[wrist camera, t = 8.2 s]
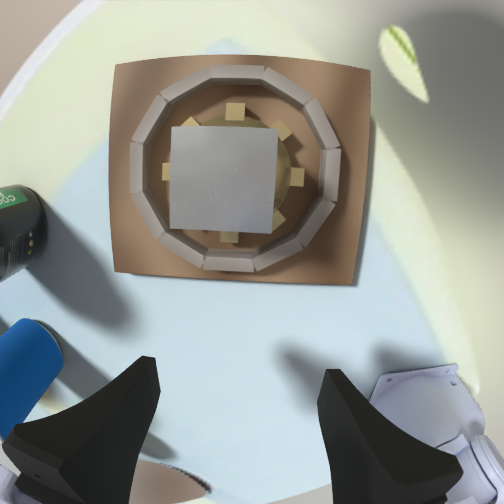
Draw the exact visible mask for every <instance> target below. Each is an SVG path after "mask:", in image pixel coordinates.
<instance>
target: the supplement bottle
mask: <svg viewBox="0 0 504 504" xmlns="http://www.w3.org/2000/svg"><path fill="white" fill-rule="evenodd" d="M46 236H47V225H46V218H45V214H44V210H43V208H42V205H41V203H40V201H39V200H38V198H37V197H36V195H35V194H34V193H33V192H32V191H31V190H30V189H28V188H27V187H25V186H22V185H11V186H5V187H1V188H0V283H1V282H3V281H4V280H6V279H7V278H9V277H11V276H12V275H14V274H15V273H17V272H19V271H20V270H22V269H24V268H25V267H27V266H28V265H30V264H32V263H33V262H34V261H36V260H37V259H38V258H39V256H40V255H41V253H42V252H43V249H44V246H45V243H46Z"/></svg>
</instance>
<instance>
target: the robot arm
mask: <svg viewBox="0 0 504 504" xmlns="http://www.w3.org/2000/svg"><path fill="white" fill-rule="evenodd" d="M457 370H458V366H457V364H452V365H446V366H441V367H435V368H428V369H422V370H414V371H407V372H399V373H390V374H383V375H381V376H380V377H379V379H378V381H377V384H376V386H375V389H374V391H373V394H372V396H371V399H370V401H368V400H367V399H366V398H365V397H364V396H363V395H362V394H361V393H360V392H359V391H358V389H357V388H356V387H355V386H354V385H353V384H352V382H351V381H350V380H349V379H348V378H347V377H346V375H345V374H344V373H343V372H342V371H341V370H340V369H326V372H325V376H324V379H323V383H322V387H321V390H320V394H319V397H318V401H317V406H318V416H319V423H320V427H321V431H322V436H323V440H324V444H325V448H326V452H327V456H328V460H329V465H330V471H331V481H332V491H333V504H487V503H488V502H489V503H488V504H504V459H503V458H502V456H501V454H500V453H499V451H498V450H497V448H496V447H495V446H494V444H493V443H492V442H491V440H490V439H489V438H488V437H487V436H485V435H483V433H484V427H485V425H484V424H485V422H484V416H483V412H482V410H481V408H480V406H479V405H478V403H477V402H476V401H475V399H474V398H473V396H472V395H471V394H470V392H469V391H468V390H467V388H466V387H465V385H464V384H463V383H462V381H461V380H460V379H459V377H458V376H457V375H456V372H457ZM160 392H161V391H160V385H159V379H158V373H157V367H156V360H155V358H153V357H147V356H141V357H140V358H139V359H137V360H136V361H135V362H134V363H133V364H132V365H130V366H129V367H128V368H127V369H126V370H125V371H123V372H122V373H121V374H120V375H119V376H117V377H116V378H115V379H114V380H112V381H111V382H110V383H109V384H107V385H106V386H105V387H103V388H102V389H101V390H99V391H98V392H96V393H95V394H93V395H92V396H90V397H89V398H87V399H85V400H84V401H82V402H80V403H78V404H76V405H74V406H72V407H70V408H68V409H66V410H63V411H61V412H59V413H57V414H54V415H51V416H48V417H45V418H42V419H38V420H35V421H30V422H26V423H21V424H16V425H15V426H14V427H13V429H12V430H11V432H10V433H9V434H8V436H7V437H6V439H5V440H4V442H3V443H2V448H3V450H4V452H5V454H6V455H7V456H8V457H9V459H10V460H11V461H12V462H13V463H14V465H15V466H16V467H17V468H18V469H19V470H20V472H21V474H20V476H19V477H18V476H17V475H16V474H14V473H13V472H12V471H10V470H8V469H7V468H5V467H4V466H2V465H1V464H0V504H128V503H129V497H130V491H131V486H132V481H133V476H134V471H135V467H136V463H137V459H138V455H139V452H140V449H141V447H142V444H143V442H144V439H145V437H146V434H147V432H148V429H149V427H150V424H151V422H152V419H153V417H154V414H155V411H156V408H157V404H158V400H159V396H160Z"/></svg>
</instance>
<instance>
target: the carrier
mask: <svg viewBox="0 0 504 504" xmlns="http://www.w3.org/2000/svg"><path fill="white" fill-rule="evenodd" d="M226 103H245V105H246V113H245V116H246V117H250V118H253V119H255V120H258V121H260V122H262V123H263V124H265V125H267V126H268V127H269V128H270V127H271V126H272V125H274V124H275V123H276V122H277V121H278V120H281V121H282V122H283V123H284V124H285V125H286V126H287V127H288V128H289V130H290V131H291V132H292V134H291V135H289V136H288V137H287V138H286V139H285V140H283V141H282V142H283V144H284V145H285V147H286V150H287V152H288V155H289V158H290V163H291V167H297V168H304V169H305V171H304V184H303V187H301V186H290V187H289V190H288V193H287V195H286V198H285V200H284V201H283V203H282V205H281V206H280V207H279V210H280V211H281V212H282V214H283V215H284V216H285V218H286V220H285V221H284V222H283V223H282V224H281V225H280V226H278V227H277V228H276V229H275V230H274V231H272V234H268V233H250V232H239V240H238V243H229V242H220V231H212V230H192V229H170V181H169V180H162V166H163V163H167V162H170V154H171V132H172V127H176V126H181V125H182V124H183V123H184V122H185V121H186V120H187V119H189V118H190V117H193V118H194V119H196V121H197V122H198V123H199V124H200V125H201V124H203V123H204V122H206V121H209V120H211V119H214V118H217V117H220V116H226ZM369 131H370V70H366V69H361V68H356V67H352V66H346V65H340V64H335V63H329V62H322V61H315V60H307V59H299V58H289V57H277V56H261V55H196V56H180V57H168V58H158V59H150V60H142V61H135V62H129V63H123V64H117V65H115V72H114V81H113V90H112V101H111V114H110V131H109V208H110V226H111V240H112V251H113V261H114V270H115V272H121V273H133V274H146V275H160V276H174V277H189V278H205V279H222V280H241V281H261V282H284V283H311V284H344V285H352V281H353V276H354V270H355V264H356V258H357V251H358V245H359V238H360V231H361V223H362V215H363V207H364V197H365V188H366V177H367V164H368V150H369Z"/></svg>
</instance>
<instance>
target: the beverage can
mask: <svg viewBox="0 0 504 504" xmlns="http://www.w3.org/2000/svg"><path fill="white" fill-rule="evenodd" d="M62 368H63V356H62V353H61V350H60V347H59V345H58V343H57V341H56V339H55V338H54V336H53V335H52V334H51V332H50V331H49V330H48V329H47V328H45V327H44V326H43V325H41V324H39V323H37V322H35V321H34V320H31V319H28V318H23V319H20V320H19V321H17V322H16V323H15V324H14V325H13V326H12V327H11V328H9V329H8V330H7V331H6V332H5V333H4V334H3V335H2V336H0V445H1V444H2V443H3V441H4V440H5V439H6V437H7V436H8V434H9V433H10V432H11V430H12V429H13V427H14V426H15V425H16V424H21V423H23V422H24V420H25V419H26V417H27V416H28V414H29V413H30V412H31V410H32V409H33V407H34V406H35V405H36V403H37V402H38V400H39V399H40V398H41V396H42V395H43V394H44V392H45V391H46V389H47V388H48V387H49V385H50V384H51V383H52V381H53V380H54V379H55V378H56V376H57V375H58V374H59V372H60V371H61V370H62Z"/></svg>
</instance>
